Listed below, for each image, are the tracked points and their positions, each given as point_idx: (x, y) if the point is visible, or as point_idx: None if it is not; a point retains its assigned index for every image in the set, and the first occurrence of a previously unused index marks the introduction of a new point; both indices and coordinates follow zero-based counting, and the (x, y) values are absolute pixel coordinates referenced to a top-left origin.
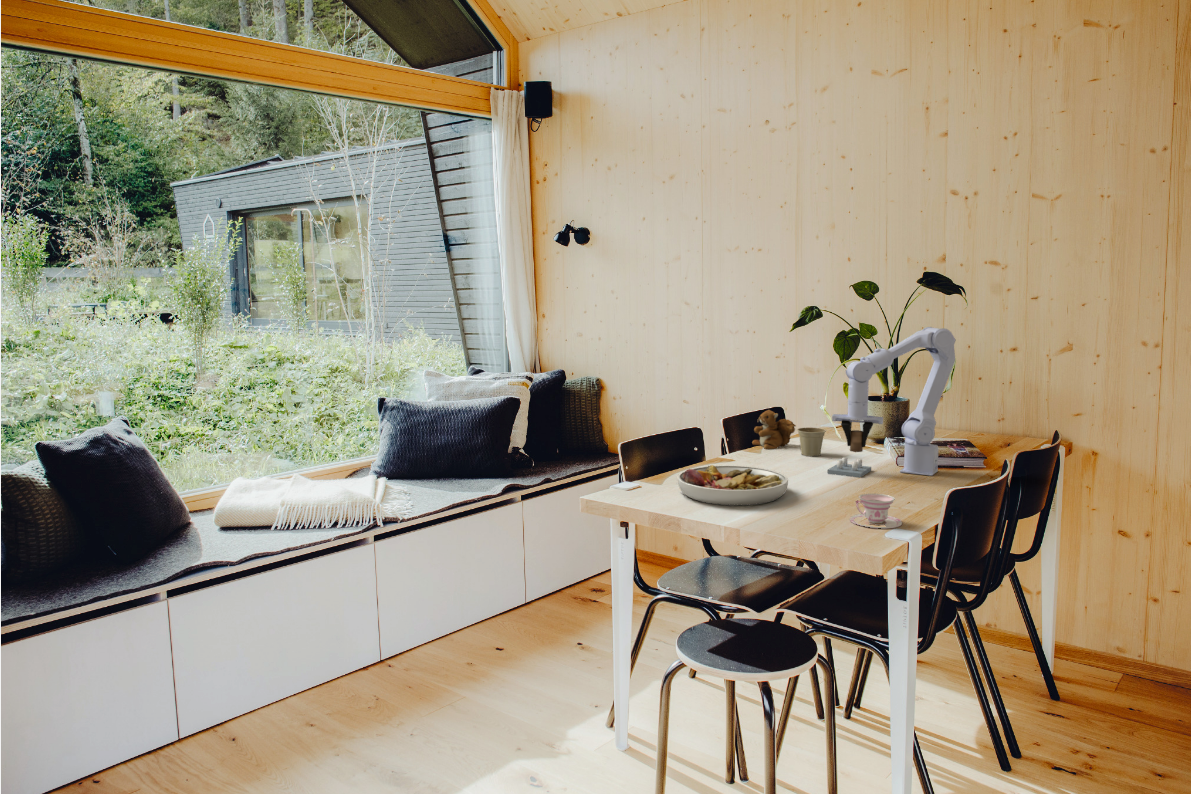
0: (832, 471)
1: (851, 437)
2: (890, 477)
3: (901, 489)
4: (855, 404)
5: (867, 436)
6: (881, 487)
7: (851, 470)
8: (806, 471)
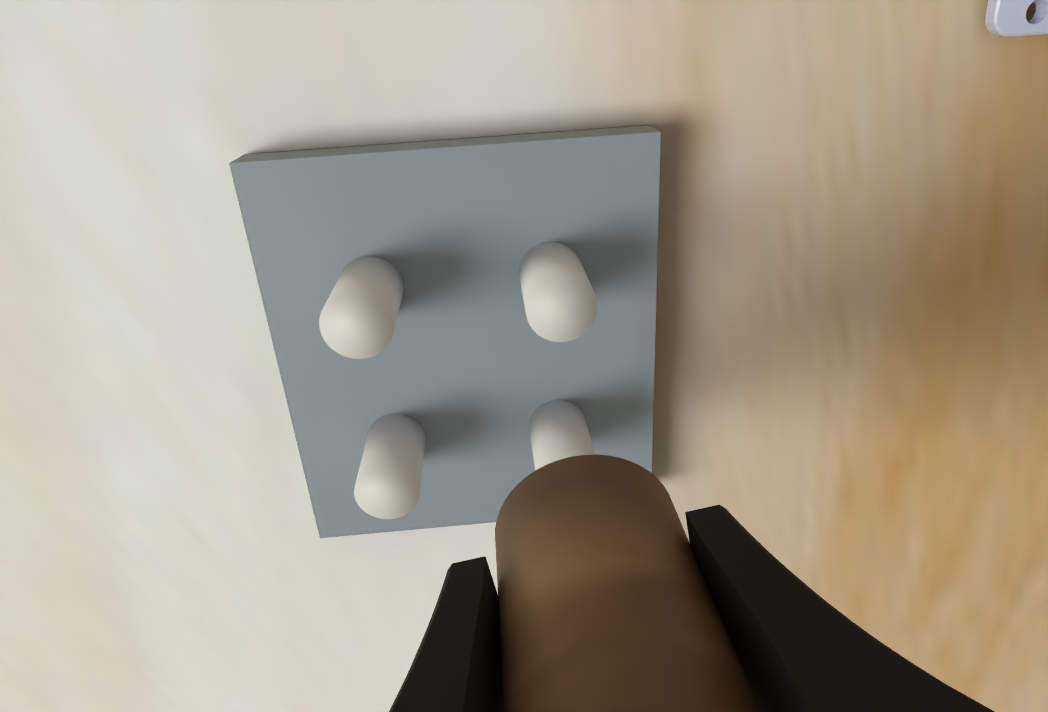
0: (373, 524)
1: None
2: (894, 324)
3: (1000, 628)
4: None
5: (832, 619)
6: None
7: (529, 442)
8: (124, 538)
